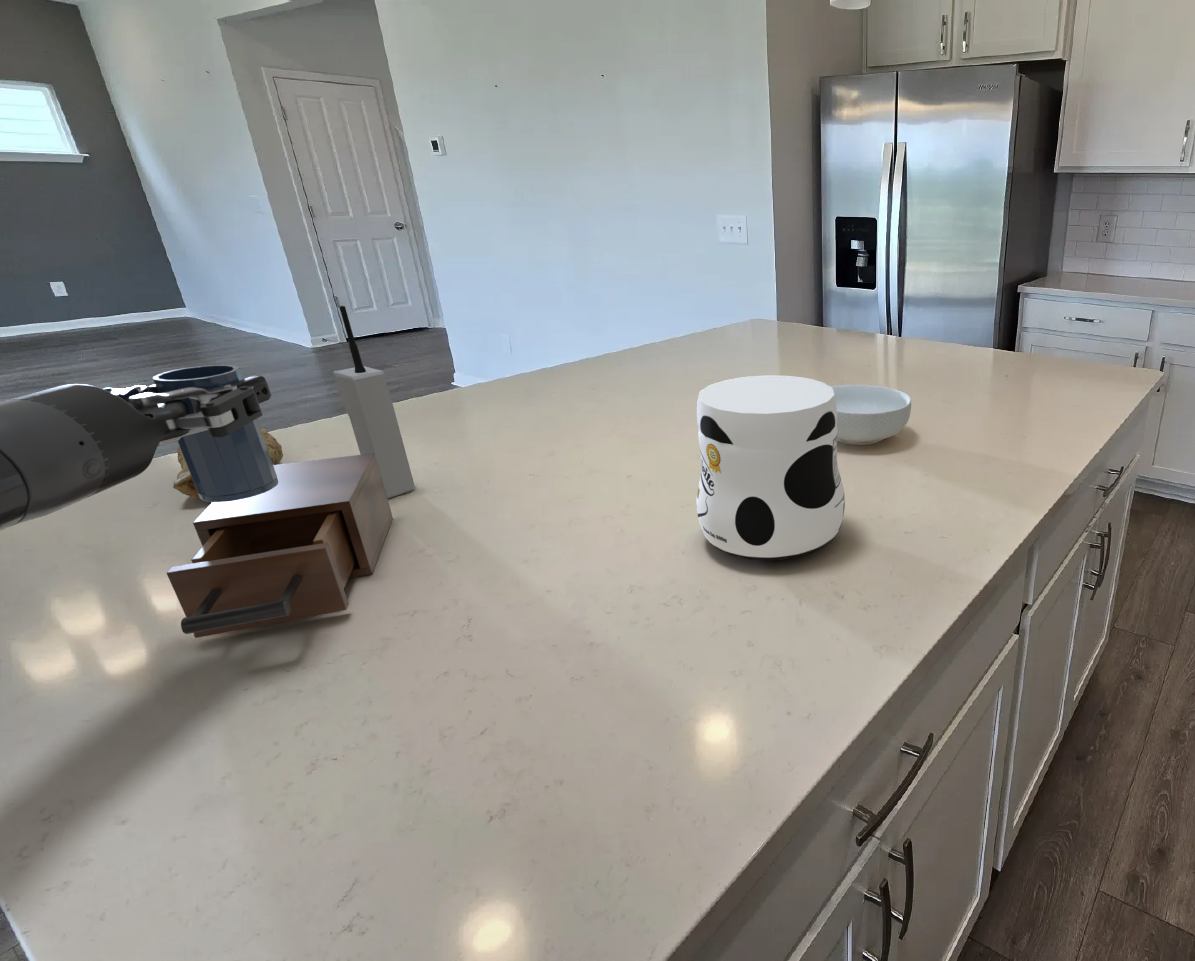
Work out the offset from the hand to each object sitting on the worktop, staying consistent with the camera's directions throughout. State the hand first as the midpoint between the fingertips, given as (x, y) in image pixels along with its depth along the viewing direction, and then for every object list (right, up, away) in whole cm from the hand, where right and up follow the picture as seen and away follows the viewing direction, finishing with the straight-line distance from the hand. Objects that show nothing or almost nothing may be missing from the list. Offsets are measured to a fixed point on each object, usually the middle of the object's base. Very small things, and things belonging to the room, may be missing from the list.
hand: (226, 387), depth 63 cm
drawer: (0, -21, +6) cm, 21 cm away
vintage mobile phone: (-7, -10, +33) cm, 35 cm away
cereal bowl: (+58, -1, +54) cm, 79 cm away
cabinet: (-4, -17, +17) cm, 24 cm away
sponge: (-31, -8, +36) cm, 48 cm away
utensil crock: (0, -9, +1) cm, 9 cm away
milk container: (+47, -15, +21) cm, 54 cm away
